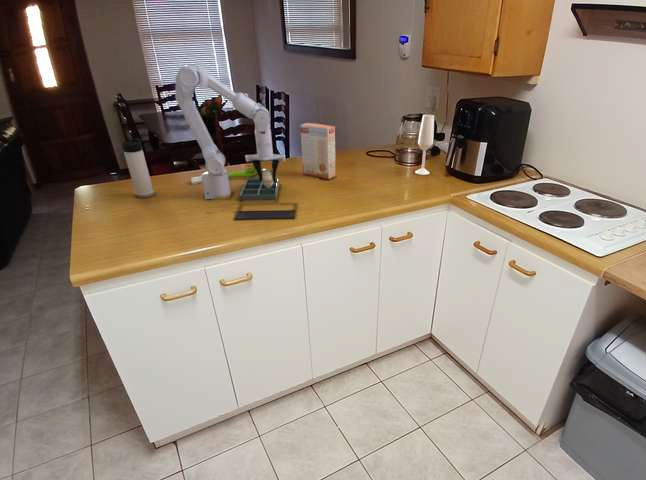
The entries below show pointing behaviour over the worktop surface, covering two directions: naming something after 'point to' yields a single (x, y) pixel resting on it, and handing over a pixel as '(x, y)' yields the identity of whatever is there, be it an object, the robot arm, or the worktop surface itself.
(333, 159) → the cracker box
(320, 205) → the worktop surface
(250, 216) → the mat
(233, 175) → the celery
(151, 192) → the travel mug
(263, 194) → the teal compartment tray
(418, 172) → the champagne flute
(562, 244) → the worktop surface
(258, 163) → the robot arm
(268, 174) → the egg
